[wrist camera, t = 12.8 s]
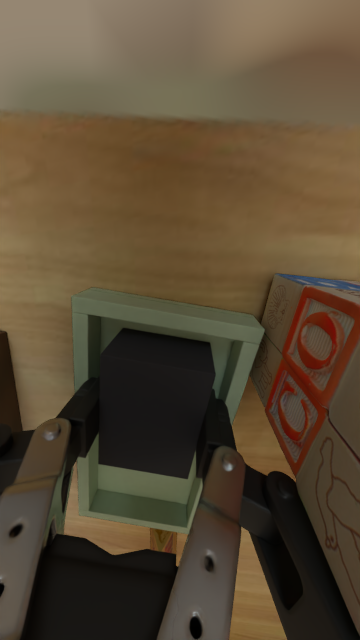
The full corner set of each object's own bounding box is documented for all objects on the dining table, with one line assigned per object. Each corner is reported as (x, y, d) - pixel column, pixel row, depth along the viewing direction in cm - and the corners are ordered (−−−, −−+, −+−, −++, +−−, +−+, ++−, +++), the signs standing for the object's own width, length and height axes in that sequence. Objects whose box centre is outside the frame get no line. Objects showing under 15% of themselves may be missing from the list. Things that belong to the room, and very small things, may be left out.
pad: (122, 327, 11) (99, 354, 8) (210, 342, 11) (216, 374, 8) (117, 419, 14) (97, 464, 11) (189, 432, 14) (187, 479, 11)
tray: (92, 286, 11) (70, 295, 9) (252, 314, 11) (265, 329, 9) (91, 485, 17) (78, 515, 16) (194, 503, 17) (194, 535, 15)
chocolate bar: (177, 521, 19) (175, 556, 16) (174, 583, 23) (172, 617, 21) (149, 518, 19) (144, 553, 17) (152, 580, 23) (147, 614, 21)
